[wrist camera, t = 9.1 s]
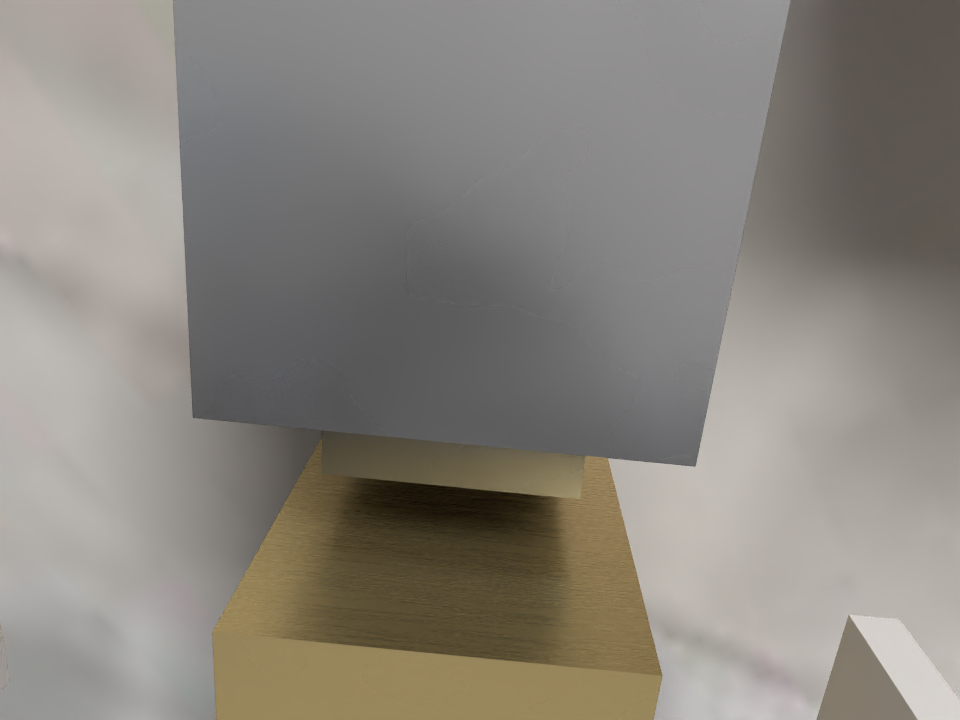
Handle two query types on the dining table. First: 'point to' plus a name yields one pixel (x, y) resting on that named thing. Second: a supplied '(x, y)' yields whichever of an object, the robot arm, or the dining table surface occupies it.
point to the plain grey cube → (469, 214)
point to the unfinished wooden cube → (438, 607)
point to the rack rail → (452, 464)
